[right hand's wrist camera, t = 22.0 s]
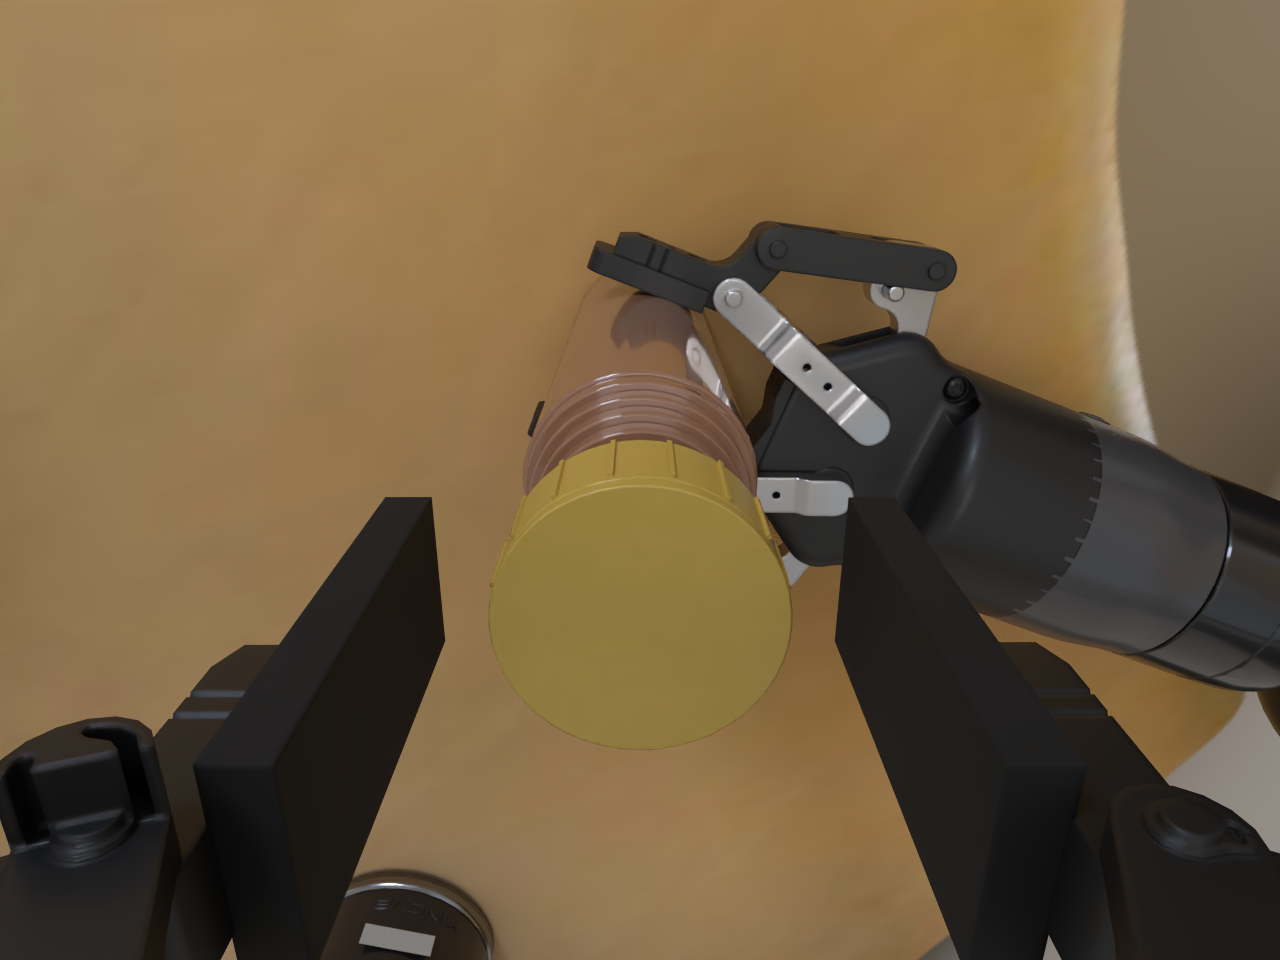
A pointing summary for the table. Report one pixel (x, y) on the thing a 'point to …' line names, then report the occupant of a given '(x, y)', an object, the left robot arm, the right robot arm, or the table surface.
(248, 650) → the right robot arm
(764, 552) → the cap
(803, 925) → the table surface
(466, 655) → the table surface
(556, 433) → the bottle
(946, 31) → the table surface
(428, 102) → the table surface
